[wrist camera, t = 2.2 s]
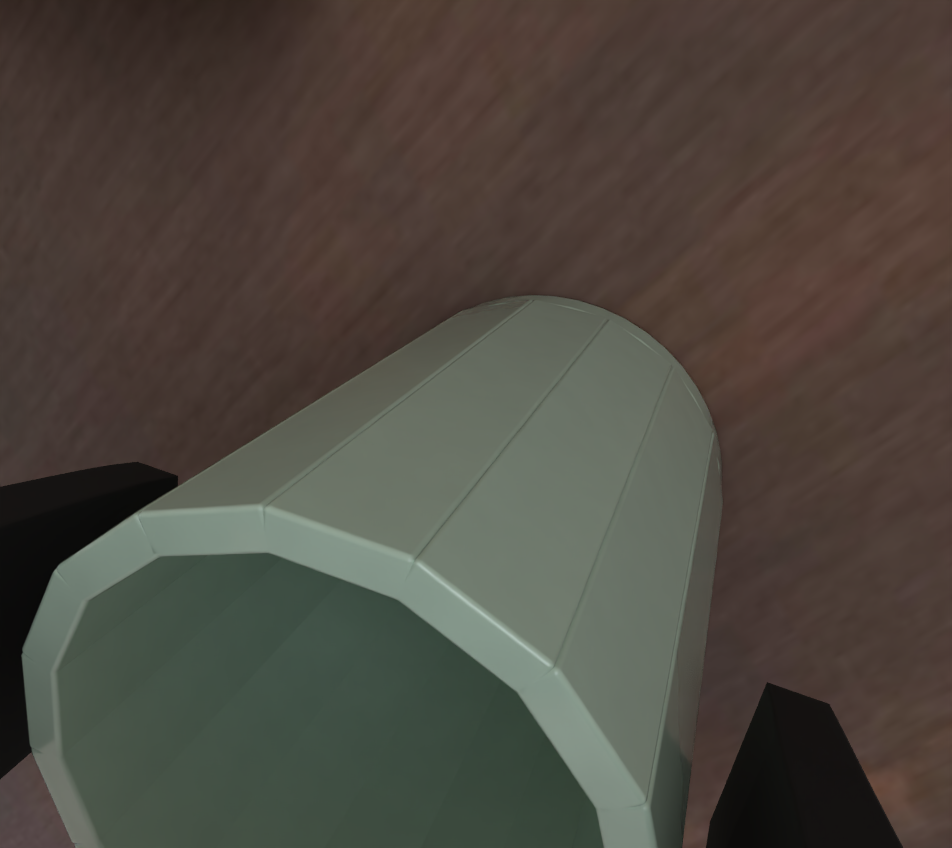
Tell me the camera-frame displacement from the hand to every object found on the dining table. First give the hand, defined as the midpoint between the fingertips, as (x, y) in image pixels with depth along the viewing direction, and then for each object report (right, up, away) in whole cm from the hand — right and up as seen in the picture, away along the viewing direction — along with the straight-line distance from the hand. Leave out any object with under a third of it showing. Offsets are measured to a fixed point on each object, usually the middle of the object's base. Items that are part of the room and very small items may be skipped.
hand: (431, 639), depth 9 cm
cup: (+2, +2, +5) cm, 5 cm away
